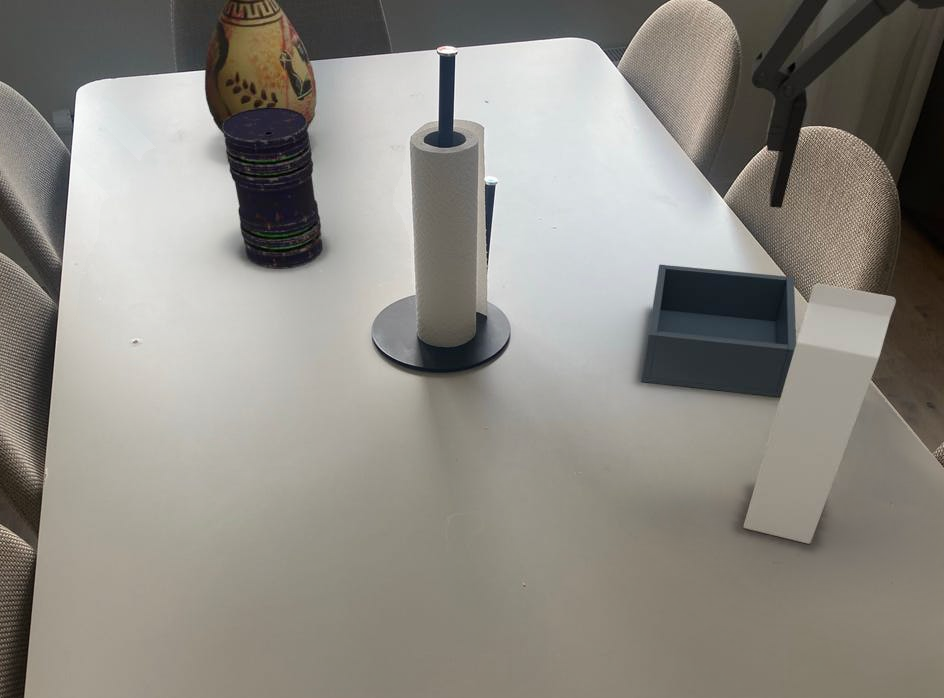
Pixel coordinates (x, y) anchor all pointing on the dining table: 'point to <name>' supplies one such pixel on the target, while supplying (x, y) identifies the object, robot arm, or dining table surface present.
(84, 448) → the dining table surface
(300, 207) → the dark blue cylinder
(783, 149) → the robot arm
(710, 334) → the tote
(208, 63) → the ceramic jug
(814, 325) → the tall white rectangular prism
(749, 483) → the dining table surface
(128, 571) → the dining table surface
